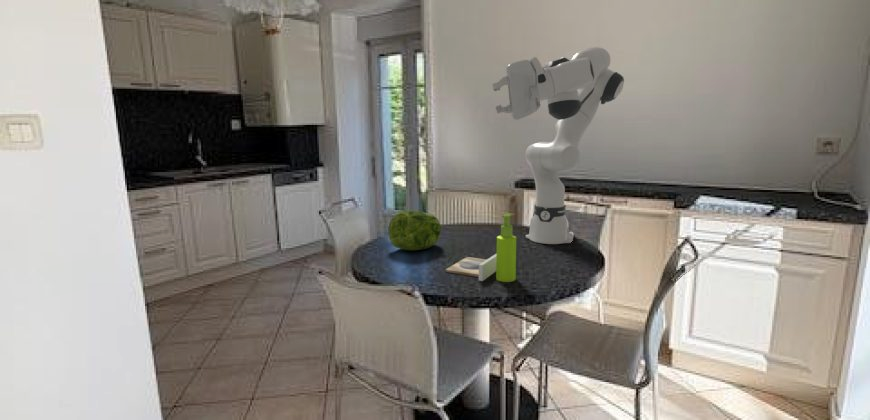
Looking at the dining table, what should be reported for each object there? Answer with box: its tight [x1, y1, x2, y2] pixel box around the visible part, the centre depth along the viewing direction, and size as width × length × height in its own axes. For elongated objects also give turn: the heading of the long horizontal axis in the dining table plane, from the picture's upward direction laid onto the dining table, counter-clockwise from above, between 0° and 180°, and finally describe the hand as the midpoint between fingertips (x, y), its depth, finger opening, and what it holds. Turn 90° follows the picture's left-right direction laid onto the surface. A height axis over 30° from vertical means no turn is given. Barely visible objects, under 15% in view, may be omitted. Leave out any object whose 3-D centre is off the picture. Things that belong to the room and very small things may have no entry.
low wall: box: [478, 253, 496, 282], centre depth 151 cm, size 20×1×5 cm, turn 151°
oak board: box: [445, 256, 487, 278], centre depth 156 cm, size 16×12×1 cm
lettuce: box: [387, 210, 443, 252], centre depth 179 cm, size 16×21×15 cm
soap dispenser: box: [495, 212, 517, 283], centre depth 143 cm, size 6×7×20 cm
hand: (494, 99), depth 141 cm, fingers open, 8 cm apart
